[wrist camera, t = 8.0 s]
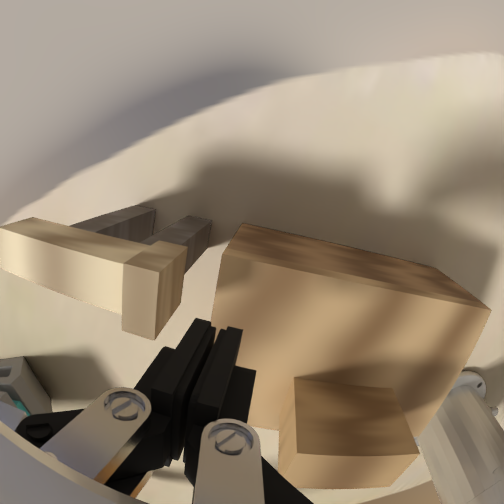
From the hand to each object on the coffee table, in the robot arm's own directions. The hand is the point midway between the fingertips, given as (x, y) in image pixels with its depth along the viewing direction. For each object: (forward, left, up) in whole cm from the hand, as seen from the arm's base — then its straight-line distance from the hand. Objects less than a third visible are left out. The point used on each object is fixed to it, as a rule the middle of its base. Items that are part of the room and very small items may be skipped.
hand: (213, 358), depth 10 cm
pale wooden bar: (+8, 0, -6) cm, 10 cm away
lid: (-8, +4, -7) cm, 12 cm away
